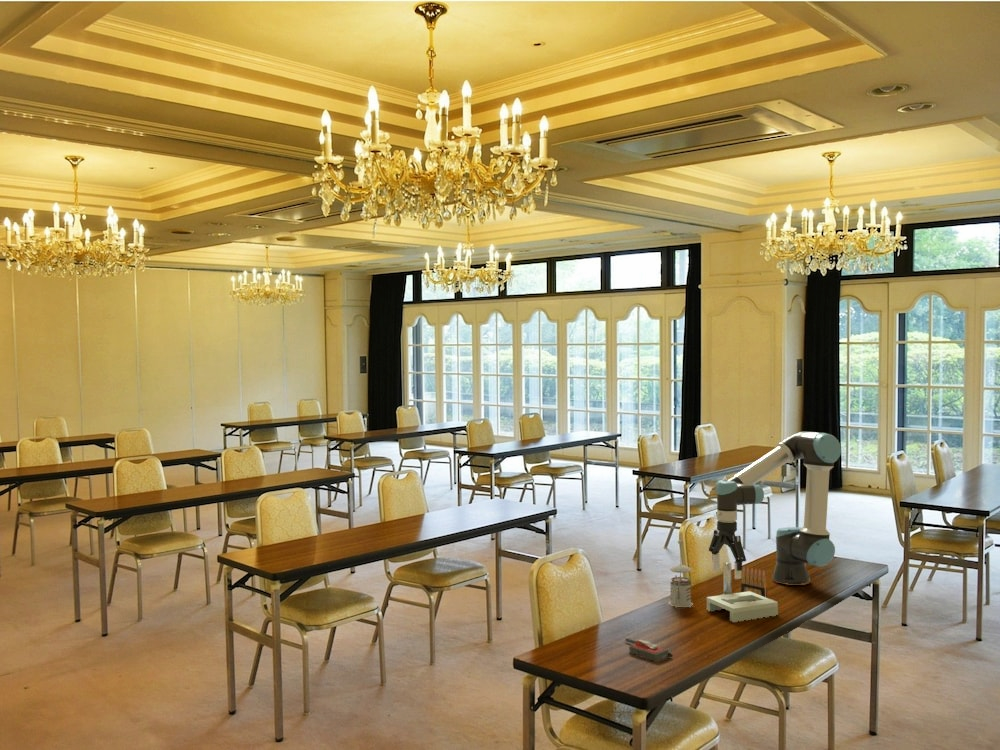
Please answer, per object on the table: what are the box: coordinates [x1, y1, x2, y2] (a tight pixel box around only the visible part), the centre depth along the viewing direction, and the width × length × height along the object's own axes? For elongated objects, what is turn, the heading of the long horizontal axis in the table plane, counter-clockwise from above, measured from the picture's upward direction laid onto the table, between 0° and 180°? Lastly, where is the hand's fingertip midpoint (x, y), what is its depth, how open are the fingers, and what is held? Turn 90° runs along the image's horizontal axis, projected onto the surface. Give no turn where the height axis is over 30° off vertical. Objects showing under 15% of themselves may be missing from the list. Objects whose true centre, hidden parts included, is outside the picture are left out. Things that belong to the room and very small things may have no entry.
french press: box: [667, 539, 694, 608], centre depth 317 cm, size 10×12×25 cm
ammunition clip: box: [740, 566, 768, 598], centre depth 325 cm, size 11×2×12 cm, turn 42°
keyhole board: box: [706, 591, 779, 623], centre depth 306 cm, size 20×16×5 cm
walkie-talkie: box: [625, 638, 673, 663], centre depth 265 cm, size 9×4×20 cm
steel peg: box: [720, 561, 732, 595], centre depth 322 cm, size 6×6×15 cm
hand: (726, 574), depth 321 cm, fingers open, 13 cm apart
